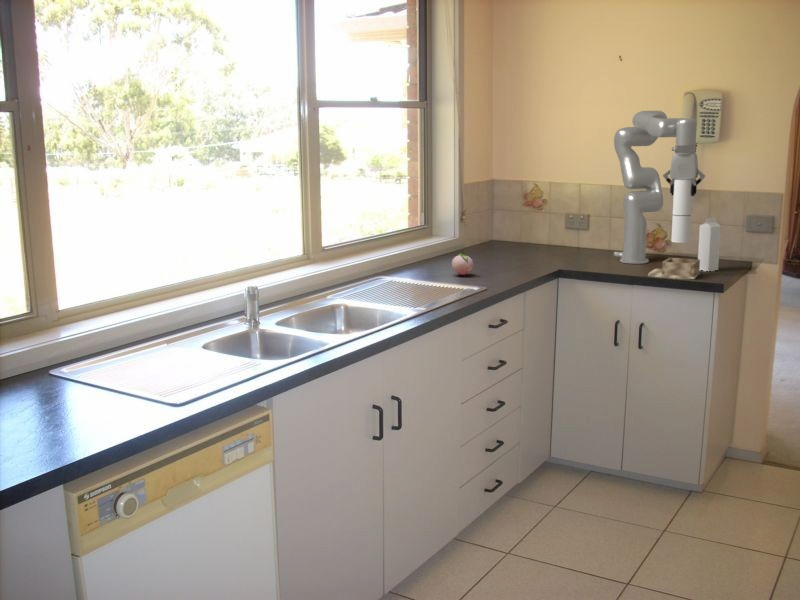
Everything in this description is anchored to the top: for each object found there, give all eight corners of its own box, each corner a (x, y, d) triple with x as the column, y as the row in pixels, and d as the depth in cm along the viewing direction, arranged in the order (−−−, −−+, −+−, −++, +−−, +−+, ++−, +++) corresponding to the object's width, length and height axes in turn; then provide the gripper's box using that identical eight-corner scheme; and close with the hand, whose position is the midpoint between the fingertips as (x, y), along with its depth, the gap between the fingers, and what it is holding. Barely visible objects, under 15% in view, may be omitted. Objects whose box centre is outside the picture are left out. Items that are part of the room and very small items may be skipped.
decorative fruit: (448, 275, 359) (448, 251, 357) (465, 273, 362) (465, 250, 360) (458, 278, 351) (458, 254, 349) (476, 277, 354) (476, 253, 352)
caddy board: (648, 276, 350) (648, 261, 349) (655, 271, 361) (656, 256, 360) (693, 279, 342) (694, 264, 340) (699, 274, 353) (700, 259, 351)
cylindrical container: (690, 240, 349) (694, 178, 344) (688, 243, 343) (691, 180, 338) (672, 240, 352) (675, 178, 347) (670, 242, 346) (673, 179, 341)
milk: (718, 270, 361) (722, 218, 356) (708, 272, 358) (711, 219, 353) (706, 268, 366) (710, 217, 361) (696, 269, 363) (700, 218, 359)
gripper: (660, 150, 341) (658, 195, 345) (706, 150, 333) (703, 196, 336) (665, 150, 348) (663, 194, 351) (710, 150, 339) (707, 195, 343)
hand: (683, 195), depth 344 cm, fingers closed on cylindrical container, 7 cm apart
